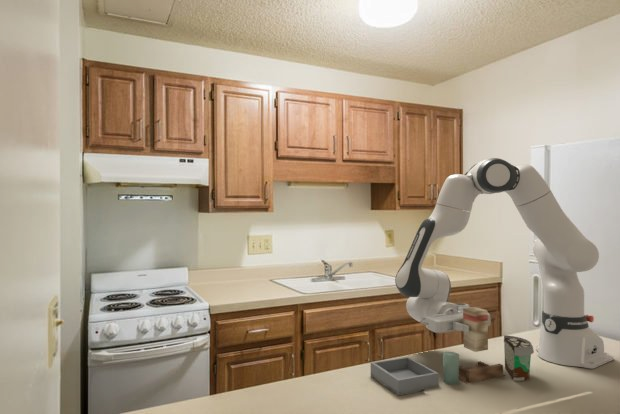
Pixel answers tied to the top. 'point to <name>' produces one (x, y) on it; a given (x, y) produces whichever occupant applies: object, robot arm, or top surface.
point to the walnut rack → (480, 372)
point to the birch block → (476, 329)
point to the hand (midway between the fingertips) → (477, 327)
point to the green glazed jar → (451, 368)
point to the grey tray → (404, 375)
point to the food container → (517, 357)
